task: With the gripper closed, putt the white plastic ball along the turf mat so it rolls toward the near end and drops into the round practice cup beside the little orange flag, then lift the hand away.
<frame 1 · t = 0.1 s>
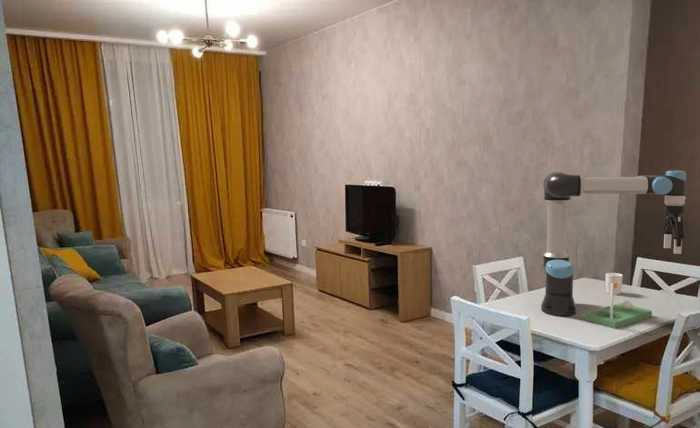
hand: (672, 250, 216), 28 cm above the table, fingers open, 13 cm apart
ball: (627, 305, 213), point 4 cm above the table, touching mat
flag pin: (611, 320, 200), resting on mat
mat: (617, 317, 210), on the table
white cup: (613, 293, 248), on the table
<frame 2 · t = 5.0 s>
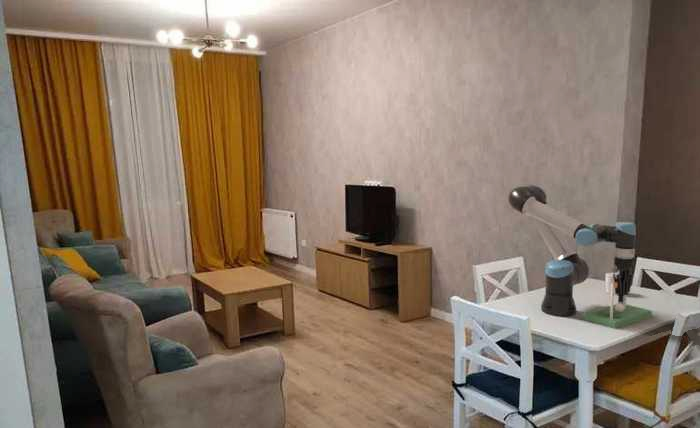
hand: (621, 308, 212), 3 cm above the table, fingers closed
ball: (619, 307, 210), point 4 cm above the table, tilted 178°, touching mat
everything else where it was.
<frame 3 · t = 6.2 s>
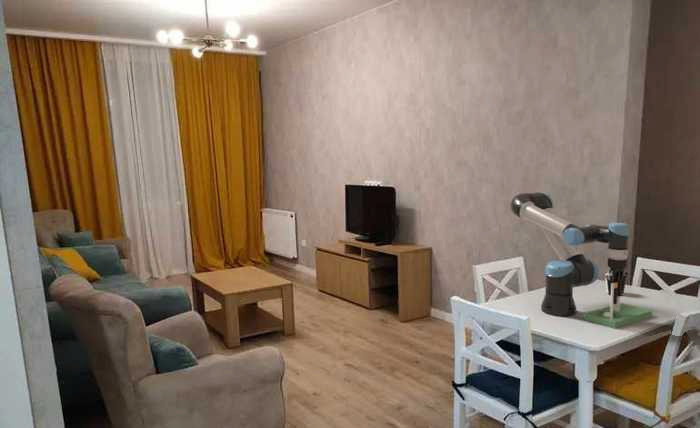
hand: (615, 310, 209), 4 cm above the table, fingers closed
ball: (607, 316, 206), point 2 cm above the table, tilted 92°
everything else where it was.
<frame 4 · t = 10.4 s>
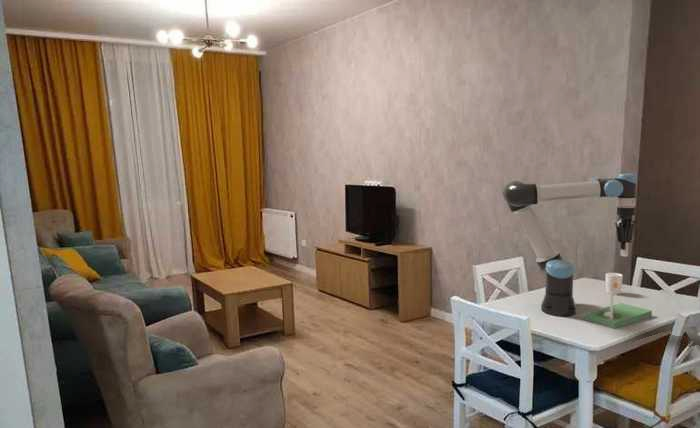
hand: (624, 256, 224), 24 cm above the table, fingers closed
ball: (608, 316, 207), point 2 cm above the table, tilted 78°
everything else where it was.
at the end: ball 0.1 cm from the target spot in the mat, point 2.0 cm above the mat's base; ball moved 14.4 cm from its start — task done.
